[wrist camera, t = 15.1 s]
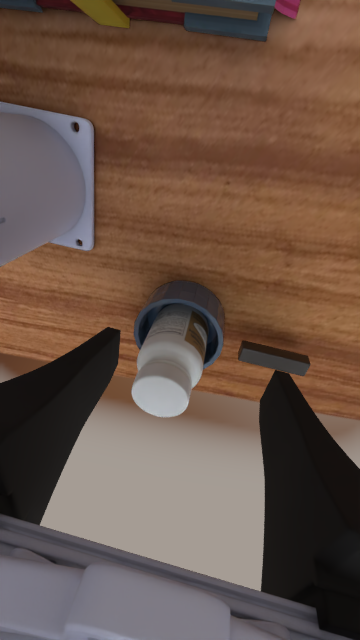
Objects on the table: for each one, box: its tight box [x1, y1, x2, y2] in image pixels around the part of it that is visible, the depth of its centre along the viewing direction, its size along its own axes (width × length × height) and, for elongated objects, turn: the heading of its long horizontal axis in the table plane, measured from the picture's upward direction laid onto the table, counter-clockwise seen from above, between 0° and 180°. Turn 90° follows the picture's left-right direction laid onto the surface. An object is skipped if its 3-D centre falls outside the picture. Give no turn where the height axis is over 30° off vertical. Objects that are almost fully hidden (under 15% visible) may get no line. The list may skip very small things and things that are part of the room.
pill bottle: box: [132, 304, 209, 417], centre depth 20 cm, size 4×4×8 cm
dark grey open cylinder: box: [134, 281, 225, 369], centre depth 22 cm, size 6×6×3 cm
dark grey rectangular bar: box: [238, 340, 310, 376], centre depth 20 cm, size 5×1×1 cm, turn 81°
